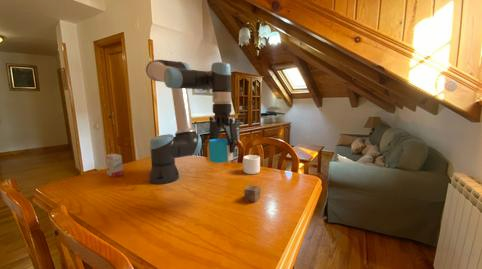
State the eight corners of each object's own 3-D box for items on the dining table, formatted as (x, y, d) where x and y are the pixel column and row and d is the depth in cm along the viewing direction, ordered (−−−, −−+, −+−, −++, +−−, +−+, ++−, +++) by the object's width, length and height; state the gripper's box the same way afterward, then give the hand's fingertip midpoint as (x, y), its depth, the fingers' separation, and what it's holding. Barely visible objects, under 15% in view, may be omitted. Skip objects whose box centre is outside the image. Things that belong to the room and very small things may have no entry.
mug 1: (220, 164, 80) (220, 143, 78) (205, 160, 84) (204, 140, 83) (238, 157, 89) (238, 138, 88) (224, 154, 94) (223, 136, 93)
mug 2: (250, 167, 130) (250, 153, 129) (264, 170, 124) (265, 155, 123) (239, 172, 120) (239, 157, 119) (254, 176, 114) (254, 160, 113)
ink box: (123, 175, 118) (121, 154, 116) (114, 177, 114) (112, 156, 112) (116, 172, 123) (114, 153, 121) (107, 174, 119) (104, 154, 117)
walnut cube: (244, 200, 86) (244, 188, 85) (249, 195, 91) (249, 184, 90) (255, 203, 84) (255, 191, 83) (260, 198, 88) (260, 186, 88)
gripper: (198, 103, 88) (200, 155, 91) (233, 103, 73) (234, 165, 77) (212, 103, 93) (214, 152, 96) (247, 103, 79) (247, 161, 82)
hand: (223, 158), depth 87 cm, fingers closed on mug 1, 8 cm apart
